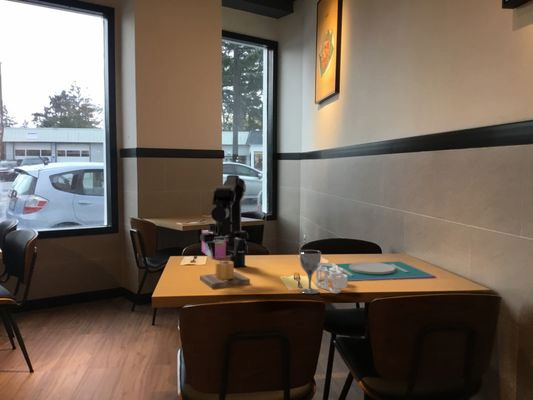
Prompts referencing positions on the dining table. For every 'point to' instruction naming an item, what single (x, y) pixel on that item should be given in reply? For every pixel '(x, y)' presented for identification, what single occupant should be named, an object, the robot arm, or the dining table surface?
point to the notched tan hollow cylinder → (224, 270)
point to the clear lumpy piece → (331, 277)
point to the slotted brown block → (219, 283)
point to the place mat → (381, 271)
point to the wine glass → (310, 266)
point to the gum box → (219, 247)
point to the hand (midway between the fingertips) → (224, 257)
